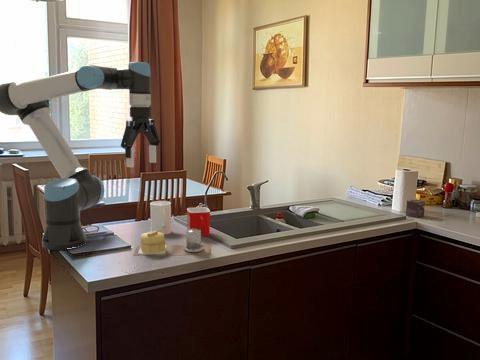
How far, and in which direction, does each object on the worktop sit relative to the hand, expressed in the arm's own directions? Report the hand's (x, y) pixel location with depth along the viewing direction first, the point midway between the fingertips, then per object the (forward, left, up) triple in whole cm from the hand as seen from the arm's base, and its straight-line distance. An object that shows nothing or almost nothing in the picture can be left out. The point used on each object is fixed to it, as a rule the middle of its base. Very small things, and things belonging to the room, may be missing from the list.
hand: (141, 164), depth 174 cm
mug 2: (+21, +2, -29) cm, 36 cm away
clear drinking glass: (+19, -16, -28) cm, 37 cm away
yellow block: (+5, -16, -27) cm, 32 cm away
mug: (+6, +9, -29) cm, 31 cm away
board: (+12, -16, -29) cm, 35 cm away
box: (+121, +33, -29) cm, 129 cm away
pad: (+5, -16, -28) cm, 32 cm away
